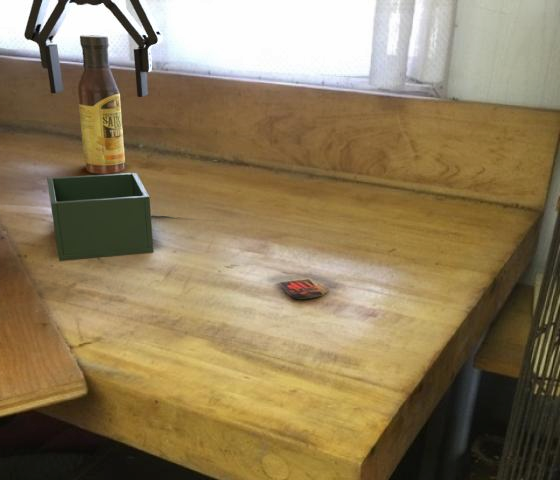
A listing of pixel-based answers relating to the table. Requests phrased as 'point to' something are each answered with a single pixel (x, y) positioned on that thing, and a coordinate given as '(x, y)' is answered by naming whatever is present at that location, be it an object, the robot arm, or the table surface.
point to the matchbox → (303, 288)
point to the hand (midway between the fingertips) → (99, 94)
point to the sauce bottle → (100, 109)
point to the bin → (100, 215)
